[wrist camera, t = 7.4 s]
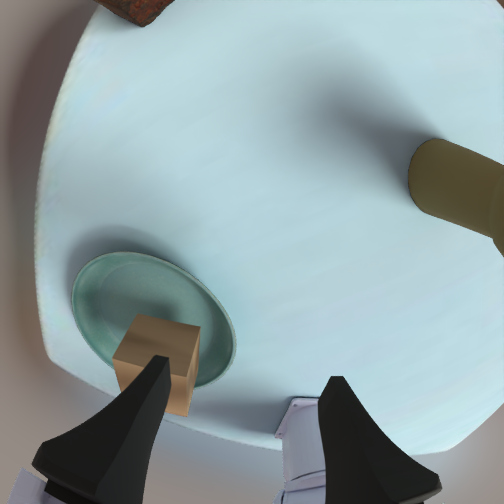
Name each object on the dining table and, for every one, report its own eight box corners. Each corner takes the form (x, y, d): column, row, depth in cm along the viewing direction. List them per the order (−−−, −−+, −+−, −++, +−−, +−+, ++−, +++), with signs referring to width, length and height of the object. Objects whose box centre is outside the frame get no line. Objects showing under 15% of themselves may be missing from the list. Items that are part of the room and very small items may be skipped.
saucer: (67, 240, 20) (49, 253, 18) (232, 234, 19) (228, 250, 17) (111, 364, 26) (103, 380, 24) (243, 376, 25) (241, 396, 23)
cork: (413, 129, 15) (534, 147, 5) (470, 149, 15) (576, 182, 5) (401, 210, 18) (502, 287, 8) (457, 220, 18) (550, 285, 8)
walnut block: (198, 369, 22) (187, 417, 17) (142, 357, 21) (123, 400, 17) (200, 326, 20) (186, 377, 15) (137, 313, 19) (111, 358, 15)
